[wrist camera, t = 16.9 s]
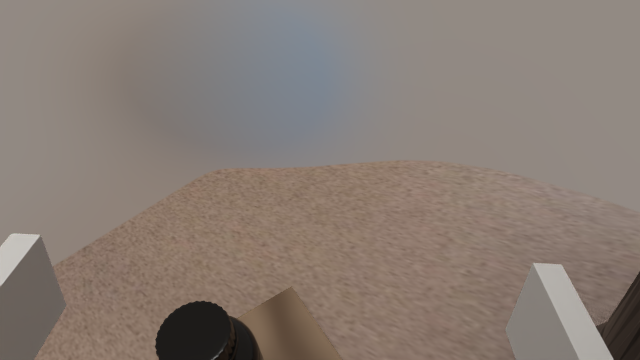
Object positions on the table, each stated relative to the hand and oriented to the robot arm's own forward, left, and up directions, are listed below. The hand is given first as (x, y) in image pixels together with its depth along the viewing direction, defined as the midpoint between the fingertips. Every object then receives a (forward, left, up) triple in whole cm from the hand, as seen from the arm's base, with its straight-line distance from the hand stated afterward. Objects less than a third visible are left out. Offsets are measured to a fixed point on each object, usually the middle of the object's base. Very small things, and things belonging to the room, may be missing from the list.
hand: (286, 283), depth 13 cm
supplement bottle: (+4, -10, -27) cm, 30 cm away
